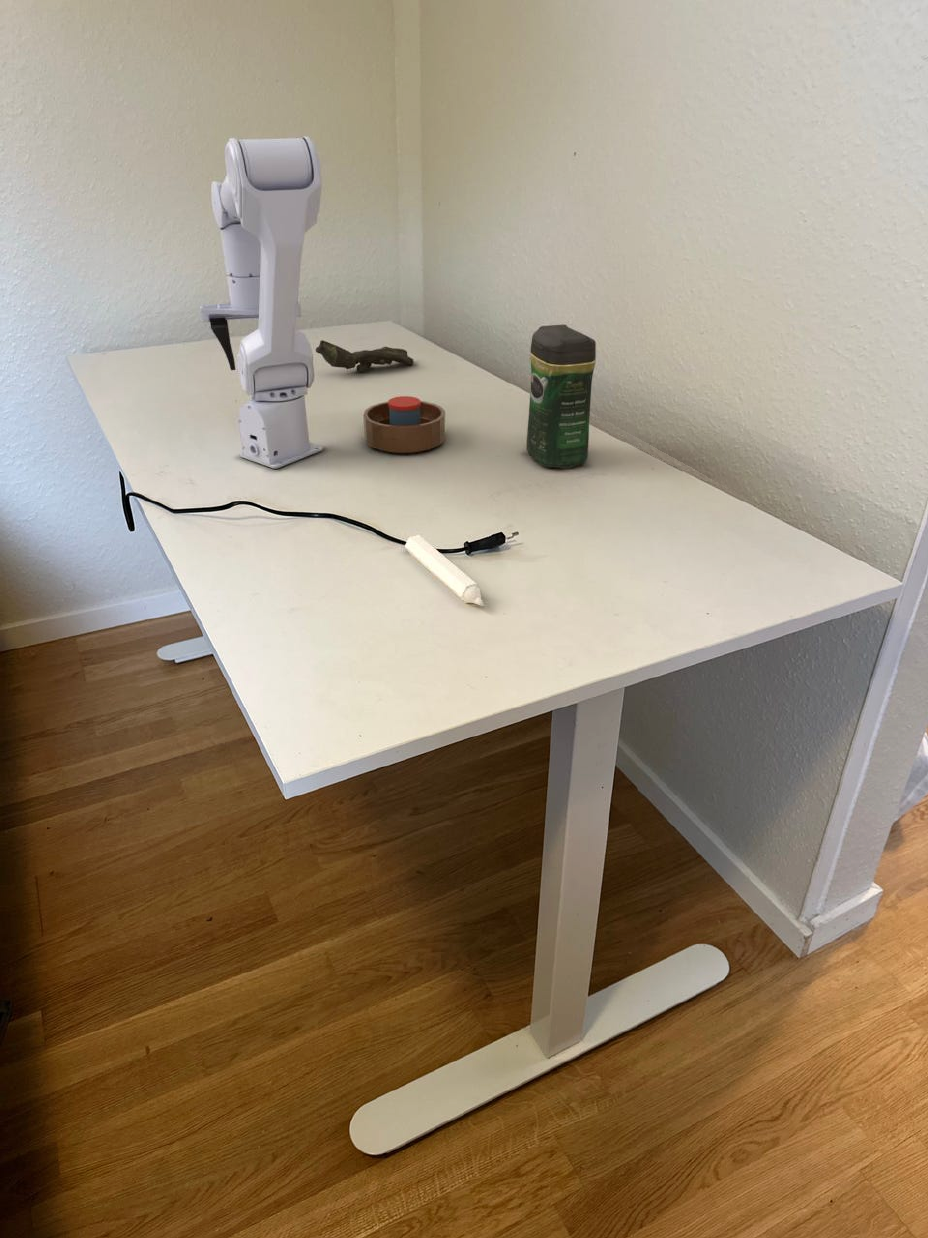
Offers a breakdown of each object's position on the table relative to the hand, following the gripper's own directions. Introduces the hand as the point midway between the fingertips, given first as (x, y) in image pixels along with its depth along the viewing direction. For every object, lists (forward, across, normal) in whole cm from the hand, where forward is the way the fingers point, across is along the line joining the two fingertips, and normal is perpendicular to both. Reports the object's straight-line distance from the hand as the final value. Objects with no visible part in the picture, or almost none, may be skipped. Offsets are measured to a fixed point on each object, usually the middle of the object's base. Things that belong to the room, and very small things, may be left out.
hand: (258, 366), depth 132 cm
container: (+9, -20, +12) cm, 25 cm away
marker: (+9, -17, +56) cm, 59 cm away
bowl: (+9, -20, +12) cm, 26 cm away
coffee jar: (+9, -41, +24) cm, 48 cm away
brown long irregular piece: (+10, -20, -26) cm, 34 cm away
